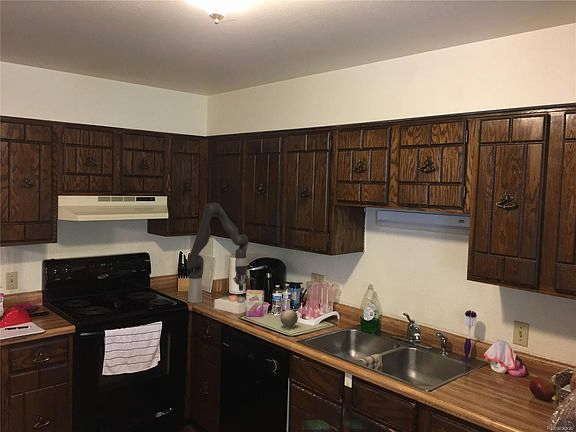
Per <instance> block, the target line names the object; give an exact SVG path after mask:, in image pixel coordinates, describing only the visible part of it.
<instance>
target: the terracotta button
mask: <svg viewBox="0 0 576 432" xmlns="http://www.w3.org/2000/svg"><path fill="white" fill-rule="evenodd" d="M229 296H230V301H232V302H235V301H237V297H238V295H237V294H236V295H235V294H233V295H232V294H231V295H229Z"/></svg>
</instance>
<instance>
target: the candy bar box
mask: <svg viewBox="0 0 576 432" xmlns="http://www.w3.org/2000/svg"><path fill="white" fill-rule="evenodd" d="M245 300H246V312H245V317H251V318H253V317H254V318H264V315H265V313H264V311H265V310H264V309H265V290H255V289H247V290H246V291H245Z"/></svg>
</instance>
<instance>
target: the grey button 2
mask: <svg viewBox="0 0 576 432" xmlns="http://www.w3.org/2000/svg"><path fill="white" fill-rule="evenodd" d="M245 300H246V296H245V297H244V296H237V303H245Z"/></svg>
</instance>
